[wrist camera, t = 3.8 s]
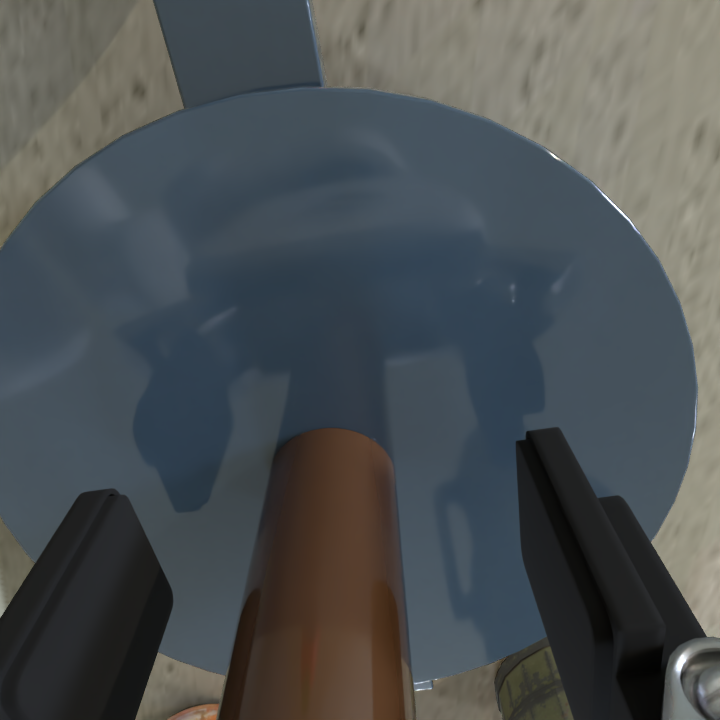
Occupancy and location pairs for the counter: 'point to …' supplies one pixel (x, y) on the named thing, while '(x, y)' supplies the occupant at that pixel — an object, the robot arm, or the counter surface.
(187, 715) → the tin
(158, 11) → the pot
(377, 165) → the lid
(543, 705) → the thermos
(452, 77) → the counter surface
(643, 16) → the counter surface
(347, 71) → the counter surface
